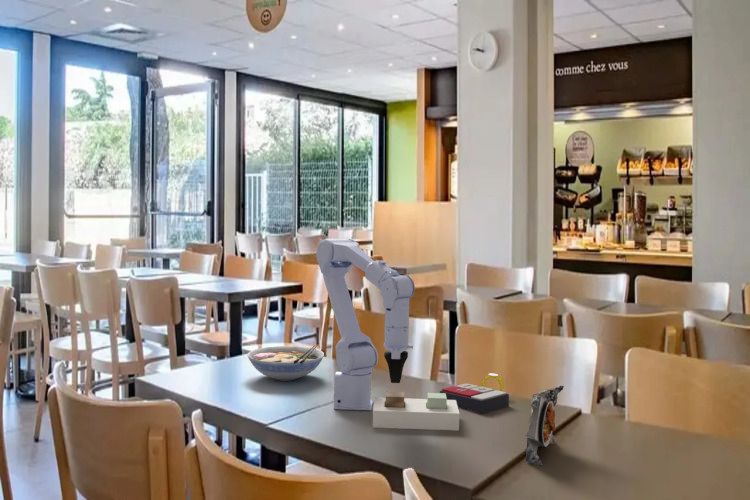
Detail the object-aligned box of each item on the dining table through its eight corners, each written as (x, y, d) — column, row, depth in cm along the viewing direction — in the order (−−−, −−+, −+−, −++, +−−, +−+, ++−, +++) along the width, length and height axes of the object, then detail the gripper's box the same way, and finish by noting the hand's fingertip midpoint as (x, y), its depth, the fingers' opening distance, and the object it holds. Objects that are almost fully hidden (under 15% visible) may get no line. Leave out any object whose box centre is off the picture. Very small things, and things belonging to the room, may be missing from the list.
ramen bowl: (261, 366, 214) (261, 340, 213) (331, 370, 211) (332, 344, 210) (234, 386, 189) (234, 358, 189) (313, 391, 186) (314, 362, 186)
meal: (546, 466, 135) (548, 402, 134) (525, 462, 137) (527, 399, 136) (561, 444, 148) (564, 385, 147) (542, 440, 150) (544, 382, 149)
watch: (503, 397, 185) (506, 376, 185) (499, 399, 183) (501, 378, 183) (484, 391, 189) (486, 371, 188) (479, 393, 187) (481, 372, 186)
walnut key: (385, 411, 159) (385, 396, 159) (386, 405, 164) (386, 391, 163) (404, 411, 159) (404, 397, 159) (404, 406, 164) (404, 392, 163)
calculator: (466, 381, 187) (509, 390, 176) (466, 397, 187) (509, 407, 176) (438, 388, 180) (482, 398, 168) (438, 404, 180) (482, 415, 168)
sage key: (427, 412, 159) (428, 397, 159) (427, 406, 163) (427, 392, 163) (446, 413, 159) (446, 398, 158) (445, 407, 163) (445, 393, 163)
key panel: (372, 427, 156) (373, 410, 156) (374, 413, 167) (375, 397, 167) (459, 430, 155) (459, 413, 155) (455, 415, 166) (455, 400, 166)
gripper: (413, 332, 153) (412, 391, 154) (413, 321, 167) (411, 375, 168) (382, 331, 153) (381, 390, 154) (384, 320, 168) (383, 374, 168)
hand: (395, 382), depth 161 cm, fingers closed
